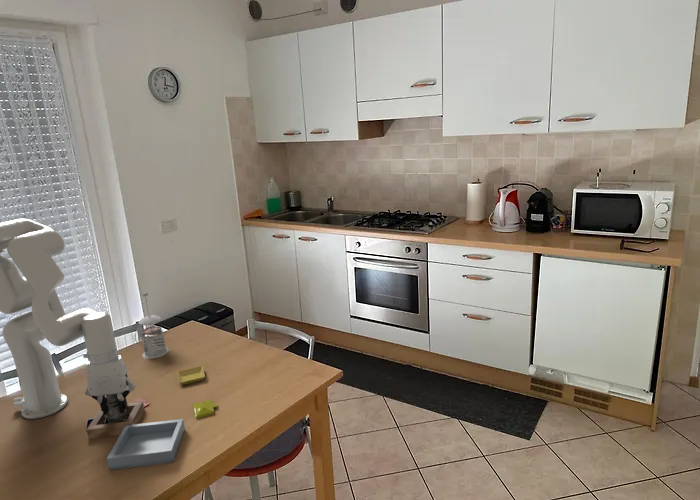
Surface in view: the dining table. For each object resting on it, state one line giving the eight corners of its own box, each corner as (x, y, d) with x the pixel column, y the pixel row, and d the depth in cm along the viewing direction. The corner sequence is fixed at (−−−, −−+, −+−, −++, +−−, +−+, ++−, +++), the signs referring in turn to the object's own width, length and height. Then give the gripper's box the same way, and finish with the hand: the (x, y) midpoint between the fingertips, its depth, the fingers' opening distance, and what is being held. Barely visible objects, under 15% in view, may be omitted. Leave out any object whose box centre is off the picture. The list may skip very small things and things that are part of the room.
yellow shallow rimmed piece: (206, 382, 165) (205, 376, 164) (179, 388, 162) (178, 382, 161) (203, 370, 173) (202, 365, 172) (178, 376, 170) (177, 371, 169)
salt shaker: (120, 430, 140) (112, 393, 137) (102, 429, 141) (94, 392, 138) (132, 418, 146) (125, 383, 143) (115, 417, 147) (108, 382, 144)
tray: (109, 470, 124) (106, 458, 123) (127, 436, 137) (125, 425, 136) (173, 462, 125) (171, 450, 124) (185, 429, 139) (183, 418, 138)
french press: (174, 350, 190) (164, 290, 183) (148, 363, 180) (137, 300, 174) (158, 345, 195) (148, 286, 188) (132, 357, 185) (120, 296, 179)
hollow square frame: (88, 438, 137) (86, 429, 136) (104, 414, 149) (102, 405, 148) (132, 433, 138) (130, 424, 138) (144, 409, 150) (142, 401, 149)
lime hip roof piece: (188, 407, 151) (187, 399, 150) (218, 400, 154) (217, 392, 154) (191, 424, 142) (190, 416, 141) (223, 416, 145) (222, 407, 145)
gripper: (66, 364, 133) (80, 422, 138) (129, 358, 135) (140, 415, 140) (78, 352, 140) (90, 407, 145) (137, 346, 142) (148, 401, 147)
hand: (115, 410), depth 142 cm, fingers closed on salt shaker, 4 cm apart
